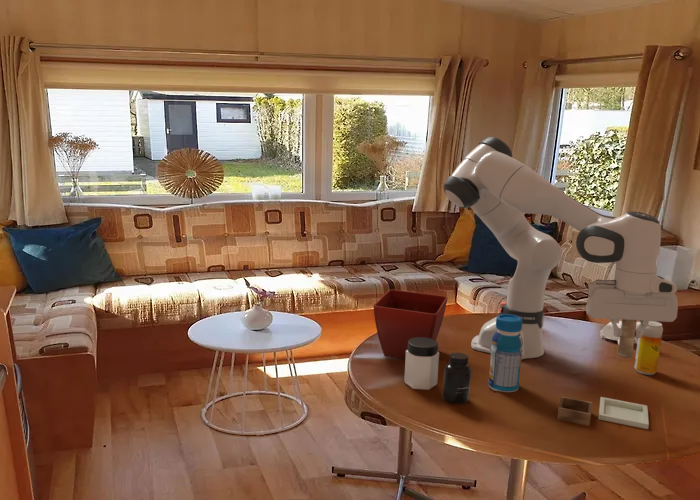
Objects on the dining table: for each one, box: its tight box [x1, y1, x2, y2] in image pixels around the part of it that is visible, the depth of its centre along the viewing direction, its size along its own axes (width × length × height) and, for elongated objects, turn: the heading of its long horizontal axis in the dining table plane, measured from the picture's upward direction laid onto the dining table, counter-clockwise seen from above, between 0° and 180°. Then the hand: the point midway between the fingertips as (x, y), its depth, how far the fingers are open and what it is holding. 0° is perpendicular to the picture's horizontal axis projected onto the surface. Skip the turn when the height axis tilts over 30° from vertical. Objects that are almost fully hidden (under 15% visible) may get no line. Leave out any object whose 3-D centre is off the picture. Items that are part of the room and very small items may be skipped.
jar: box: [403, 337, 440, 391], centre depth 168 cm, size 9×8×12 cm
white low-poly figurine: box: [599, 320, 641, 345], centre depth 205 cm, size 9×8×15 cm
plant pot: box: [373, 289, 449, 360], centre depth 190 cm, size 19×19×17 cm
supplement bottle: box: [441, 352, 472, 405], centre depth 160 cm, size 7×7×12 cm
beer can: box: [634, 321, 664, 376], centre depth 181 cm, size 6×6×15 cm
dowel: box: [617, 319, 638, 359], centre depth 149 cm, size 3×3×10 cm
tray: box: [598, 396, 650, 430], centre depth 154 cm, size 11×11×2 cm
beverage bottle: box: [487, 314, 523, 393], centre depth 166 cm, size 8×8×20 cm
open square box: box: [556, 395, 593, 427], centre depth 152 cm, size 7×7×4 cm
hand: (627, 336), depth 149 cm, fingers closed on dowel, 3 cm apart
